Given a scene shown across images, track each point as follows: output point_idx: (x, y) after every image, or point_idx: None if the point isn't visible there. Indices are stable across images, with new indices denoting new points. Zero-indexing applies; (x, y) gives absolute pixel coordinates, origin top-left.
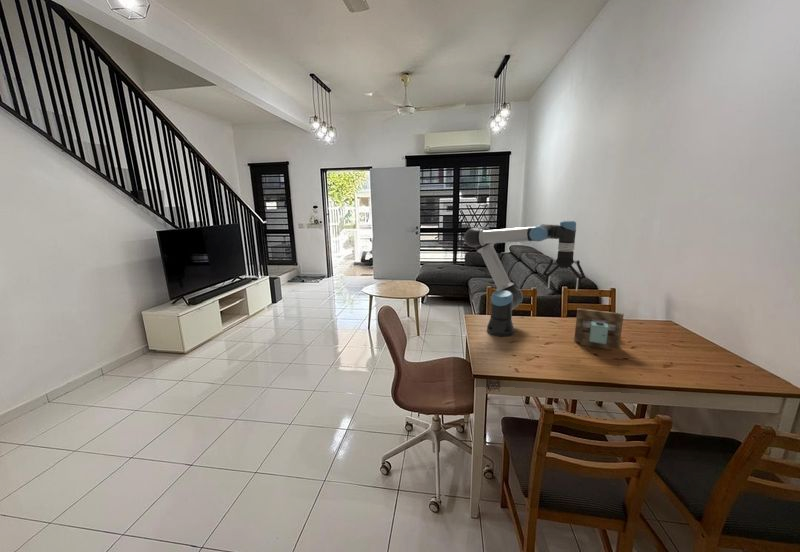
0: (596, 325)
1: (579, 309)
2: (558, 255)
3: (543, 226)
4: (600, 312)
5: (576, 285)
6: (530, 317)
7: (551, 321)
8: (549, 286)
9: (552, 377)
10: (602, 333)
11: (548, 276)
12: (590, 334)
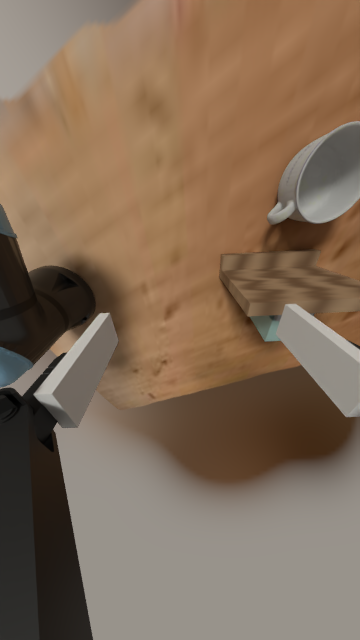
0: (276, 338)
1: (254, 315)
2: None
3: None
4: (320, 312)
5: (301, 363)
6: (53, 77)
7: (145, 96)
8: (108, 326)
9: (189, 393)
10: None
11: (52, 425)
12: (254, 324)
